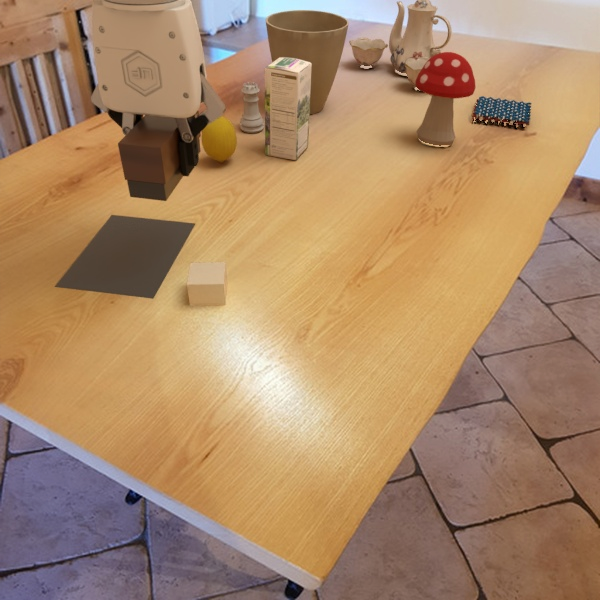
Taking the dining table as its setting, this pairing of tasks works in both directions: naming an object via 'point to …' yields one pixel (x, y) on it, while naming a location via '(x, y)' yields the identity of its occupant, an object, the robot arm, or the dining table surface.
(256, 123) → the rook chess piece
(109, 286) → the tile
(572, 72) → the dining table surface
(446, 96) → the decorative mushroom
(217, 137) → the lemon
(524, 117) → the woven mat
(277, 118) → the syrup box
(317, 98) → the plant pot
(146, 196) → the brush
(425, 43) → the chinaware
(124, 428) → the dining table surface
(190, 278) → the chalk block
